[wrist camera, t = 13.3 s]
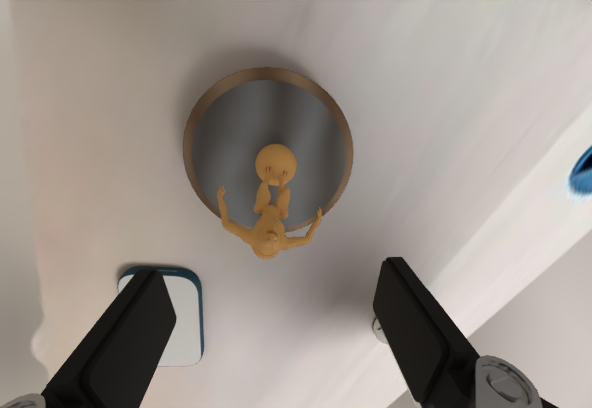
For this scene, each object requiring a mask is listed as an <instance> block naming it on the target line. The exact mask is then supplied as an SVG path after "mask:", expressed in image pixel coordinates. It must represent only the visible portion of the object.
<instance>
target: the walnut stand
mask: <svg viewBox="0 0 592 408" xmlns="http://www.w3.org/2000/svg"><path fill="white" fill-rule="evenodd" d="M271 144H281V145H284V146H286V147H287V148H289V149H290V150H291V151H292V152H293V154H294V156H295V158H296V162H297V168H296V172H295V175H294V176H293V178H292V179H291V180H290V181H289V182H287V183H286V184H284V187H288V188H289V189H290V200H289V204H288V217H287V218H285V219H283V218H280V217H279V219H280V221H281V222H282V224H283V226H284V228H285V233H286V232H290V231H294V230H297V229H300V228H303V227H305V226H307V225H309V224H311V223H313V222H314V221H315V220H316V219H317V218H318V214H317V210H318V211H319V207H320V209H322V216H323V215H324V214H326V213H327V212H328V211H329V210H330V209H331V208H332V207H333V206H334V204H335V203H336V202H337V201H338V199H339V198H340V196H341V195H342V193H343V191H344V189H345V187H346V185H347V183H348V180H349V177H350V174H351V169H352V164H353V142H352V137H351V132H350V129H349V126H348V123H347V120H346V118H345V116H344V114H343V113H342V111H341V109H340V108H339V106H338V105H337V103H336V102H335V100H334V99H333V98H332V97H331V96H330V95H329V94H328V93H327V92H326V91H325V90H324V89H323V88H321V87H320V86H319V85H318V84H317V83H315V82H313V81H312V80H310V79H308V78H307V77H305V76H302V75H300V74H297V73H295V72H292V71H288V70H284V69H280V68H269V67H264V68H252V69H247V70H243V71H239V72H237V73H234V74H232V75H229V76H227V77H225V78H224V79H222V80H220V81H219V82H217V83H216V84H215V85H213V86H212V87H211V88H210V89H208V90H207V91H206V93H205V94H204V95H203V96H202V97H201V98H200V99H199V101H198V102H197V104H196V105H195V107H194V108H193V110H192V112H191V114H190V117H189V119H188V121H187V125H186V128H185V132H184V139H183V158H184V164H185V169H186V172H187V175H188V178H189V180H190V183H191V185H192V187H193V189H194V190H195V192H196V194H197V195H198V197H199V198H200V199H201V201H202V202H203V203H204V204H205V205H206V206H207V207H208V208H209V209H210V210H211V211H212V212H213V213H214V214H215V215H217V216H218V217H219V218H221V219H222V216H221V212H220V208H219V202H218V198H217V194H218V190H219V189H220V187H221V186H222V187H223V185H224V188H223V191H224V190H225V189H226V191H225V193H224V195H223V196H222V198H223V200H224V202H225V205H226V208H227V214H228V217H229V222H230V223H233V224H235V225H238V226H240V227H242V228H244V229H246V230H252V229H253V228H254V226H255V224H256V222H257V221H258V220H259V219H260V217H261V216H262V213H255V212H254V210H253V208H254V205H255V203H256V198H257V192H258V189H259V187H260V184H261V183H262V182H263V180H261V178H260V177H259V176H258V174H257V172H256V167H255V162H256V158H257V155H258V153H259V152H260V151H261V150H262V149H263V148H264V147H266V146H268V145H271ZM222 187H221V189H222ZM268 189H269V192H270V194H271V199H270V202H269V204H268V205H274V206H275V207H276V199H277V197H278V195H279V194H278V193H279V186H273V185H269V184H268Z"/></svg>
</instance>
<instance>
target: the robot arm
mask: <svg viewBox="0 0 592 408" xmlns="http://www.w3.org/2000/svg"><path fill="white" fill-rule="evenodd" d="M373 309H374V312H375V315H376V317H377V319H376V321H375V323H374V326H373V330H374V333H375V335H376V337H377V339H378V340H379V341H381V342H382V343H385V344H388V346H389V348H390V350H391V352H392V354H393V357H394V359H395V361H396V363H397V365H398V368H399V370H400V372H401V374H402V376H403V379H404V381H405V383H406V385H407V388H408V390H409V392H410V394H411V396H412V399H413V400H414V403H415V405H416V407H417V408H558V407H556V406H555V405H553V404H551V403H549V402H547V401H546V400H544V399H542V398H541V397H539V394H538V392H537V389H536V388H535V387H534V385H533V384H532V382H531V381H530V380H529V379H528V378H527V377H526V376H525V375H524V374H523V373H522V372H521V371H520V370H518V369H517V368H516V367H515V366H513V365H512V364H510V363H508V362H506V361H505V360H503V359H500V358H497V357H495V356H488V355H486V356H481V357H480V356H479V354H478V353H477V352H476V350H475V349H474V348H473V347H472V345H471V344H470V343H469V342H468V340H467V339H466V338H465V336H464V335H463V334H462V333H461V331H460V330H459V329H458V327H457V326H456V325H455V324H454V322H453V321H452V320H451V318H450V317H449V316H448V315H447V313H446V312H445V311H444V309H443V308H442V307H441V306H440V304H439V303H438V302H437V300H436V299H435V298H434V297H433V295H432V294H431V293H430V292H429V291H428V289H426V287H425V286H424V285H423V284H422V282H421V281H420V280H419V278H418V277H417V276H416V275H415V273H414V272H413V271H412V269H411V268H410V267H409V265H408V264H407V263H406V262H405V260H404V259H403V258H402V257H388V258H386V261H383V262H382V266H381V270H380V275H379V279H378V283H377V288H376V292H375V297H374V301H373ZM176 320H177V317H176V313H175V310H174V307H173V304H172V301H171V298H170V295H169V292H168V289H167V287H166V284H165V281H164V278H163V275H162V273H161V272H158V270H157V269H140V270H138V271H137V272H136V273H135V274H134V276H133V277H132V278H131V279H130V281H129V282H128V283H127V284H126V286H125V287H124V288H123V289H122V291H121V292H120V293H119V295H118V296H117V297H116V298H115V300H114V301H113V302H112V303H111V305H110V306H109V307H108V308H107V310H106V311H105V312H104V313H103V315H102V316H101V317H100V319H99V320H98V321H97V322H96V324H95V325H94V326H93V327H92V329H91V330H90V331H89V332H88V334H87V335H86V336H85V337H84V339H83V340H82V341H81V342H80V344H79V345H78V346H77V348H76V349H75V350H74V351H73V353H72V354H71V355H70V356H69V358H68V359H67V360H66V361H65V363H64V364H63V365H62V366H61V368H60V369H59V370H58V372H57V373H56V374H55V375H54V377H53V378H52V379H51V380H50V382H49V383H48V384H47V385H46V386H47V387H46V388H45V389H44V390H43V392H42V393H41V394H27V395H24V396H21V397H18V398H16V399H14V400H12V401H10V402H8V403H6V404H5V405H3V406H1V407H0V408H139V407H140V404H141V402H142V400H143V397H144V395H145V393H146V391H147V388H148V386H149V384H150V382H151V379H152V377H153V375H154V372H155V370H156V368H157V366H158V363H159V361H160V359H161V357H162V354H163V352H164V350H165V347H166V345H167V343H168V341H169V338H170V336H171V334H172V332H173V329H174V327H175V325H176Z"/></svg>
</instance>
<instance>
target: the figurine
mask: <svg viewBox="0 0 592 408" xmlns="http://www.w3.org/2000/svg"><path fill="white" fill-rule="evenodd" d="M255 167H256V172H257V174H258V176H259V177H260V178H261V180H263V182H262V183H261V184H260V187H259V189H258V192H257V198H256V203H255V205H254V208H253V210H254V212H255V213H262V216H261V217H260V219H259V220H258V221H257V222H256V224H255V226H254V228H253V229H252V230H246V229H244V228H242V227H240V226H238V225H235V224H233V223H230V222H229V217H228V214H227V208H226V205H225V202H224V200H223V198H222V196H223V195H224V193H225V191H226V189H225V190H224V191H223V188H224V185H223V187H222V186H221V187H222V189H221V187H220V189H219V190H218V194H217V198H218V202H219V208H220V212H221V216H222V225H223V227H224V228H225V229H227V230H228V231H230V232H231V233H233V234H235V235H237V236H239V237H240V238H241V239H242V240H244V241H245V242H246V243H248V244H250V245H251V246H252V249H253V251H254V253H255V254H256V255H257V256H258V257H260V258H263V259H269V258H272V257H274V256H275V255H276V254H277V253H278V252H279V251H281V250H286V249H289V248H291V247H294V246H300V245H304V244H307V243H309V242H310V241H311V238H312V236H313V233H314V232H315V230H316V229H317V227H318V225H319V223H320V221H321V217H322V209H320V207H319V211H318V210H317V214H318V218H317V219H316V220H315V221H314V222H313V224H312V225H311V227H310V229H309V231H308V232H307V234H306V237H294V238H287V237H286V234H285V228H284V226H283V224H282V222H281V221H280V219H279V217H280V218H283V219H285V218H287V217H288V204H289V200H290V189H289V188H288V187H284V184H286V183H287V182H289V181H290V180H291V179H292V178H293V176H294V175H295V172H296V168H297V162H296V158H295V156H294V154H293V152H292V151H291V150H290V149H289V148H287V147H286V146H284V145H281V144H271V145H268V146H266V147H264V148H263V149H262V150H261V151H260V152H259V153H258V155H257V158H256V162H255ZM268 184H269V185H273V186H279V193H278V194H279V195H278V197H277V199H276V207H275V206H274V205H268V204H269V202H270V199H271V194H270V192H269V189H268Z"/></svg>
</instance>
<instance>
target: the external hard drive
mask: <svg viewBox="0 0 592 408" xmlns="http://www.w3.org/2000/svg"><path fill="white" fill-rule="evenodd" d="M140 269H157V270H158V272H161V273H162V275H163V278H164V281H165V284H166V287H167V289H168V292H169V295H170V298H171V301H172V304H173V307H174V310H175V313H176V317H177V320H176V325H175V327H174V329H173V332H172V334H171V336H170V338H169V341H168V343H167V345H166V347H165V350H164V352H163V354H162V357H161V359H160V361H159V363H158V366H157V367H169V366H191V365H195V364H197V363H198V362H199V361H200V360H201V358H202V355H203V351H204V335H203V309H202V287H201V282H200V280H199V278H198V276H197V275H196V274H195V273H193V272H191V271H189V270H186V269H180V268H163V267H133V268H131V269H129V270H127V271H126V272H125V273H124V274H123V275H122V276H121V278H120V279H119V282H118V292H119V293H120V292H121V291H122V289H123V288H124V287H125V286H126V284H127V283H128V282H129V281H130V279H131V278H132V277H133V276H134V274H135V273H136V272H137V271H138V270H140ZM198 302H199V303H198Z"/></svg>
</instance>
